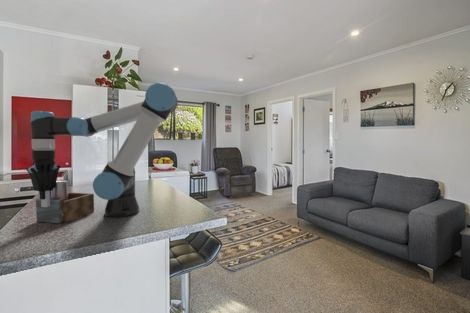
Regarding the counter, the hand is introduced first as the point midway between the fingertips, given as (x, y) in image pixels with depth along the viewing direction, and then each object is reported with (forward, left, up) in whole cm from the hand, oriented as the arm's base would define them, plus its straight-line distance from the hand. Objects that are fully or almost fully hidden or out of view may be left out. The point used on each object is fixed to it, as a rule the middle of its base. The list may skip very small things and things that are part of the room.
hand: (45, 206), depth 100 cm
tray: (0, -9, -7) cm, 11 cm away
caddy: (0, -11, -7) cm, 13 cm away
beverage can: (0, -7, -6) cm, 9 cm away
